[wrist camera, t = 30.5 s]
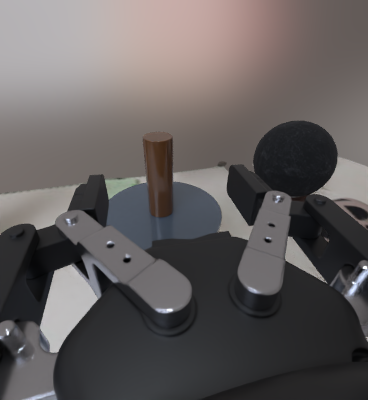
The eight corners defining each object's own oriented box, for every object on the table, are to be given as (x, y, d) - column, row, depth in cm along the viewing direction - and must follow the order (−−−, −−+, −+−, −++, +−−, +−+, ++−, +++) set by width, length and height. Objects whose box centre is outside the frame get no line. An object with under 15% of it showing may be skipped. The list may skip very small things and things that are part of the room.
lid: (241, 214, 26) (257, 134, 20) (165, 292, 17) (159, 191, 12) (160, 179, 32) (156, 111, 27) (76, 223, 24) (48, 138, 19)
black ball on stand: (232, 197, 45) (245, 119, 36) (269, 177, 52) (286, 108, 44) (296, 231, 37) (331, 142, 28) (329, 202, 44) (364, 124, 35)
